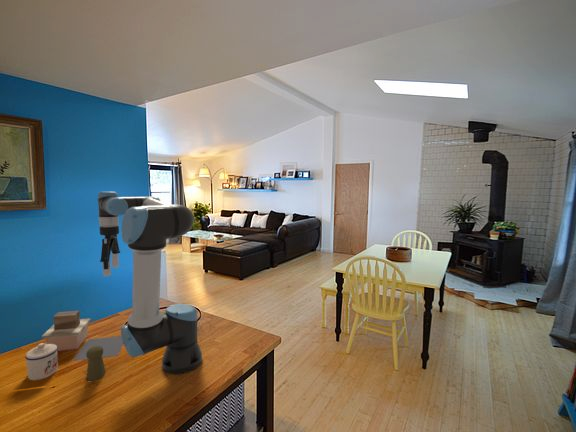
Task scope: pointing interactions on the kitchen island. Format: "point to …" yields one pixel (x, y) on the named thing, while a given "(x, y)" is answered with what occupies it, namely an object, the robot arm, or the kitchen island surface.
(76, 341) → the pink open box
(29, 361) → the white lidded canister
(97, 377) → the olive green rounded column
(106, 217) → the robot arm
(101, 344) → the mat
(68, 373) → the kitchen island surface
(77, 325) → the lid
